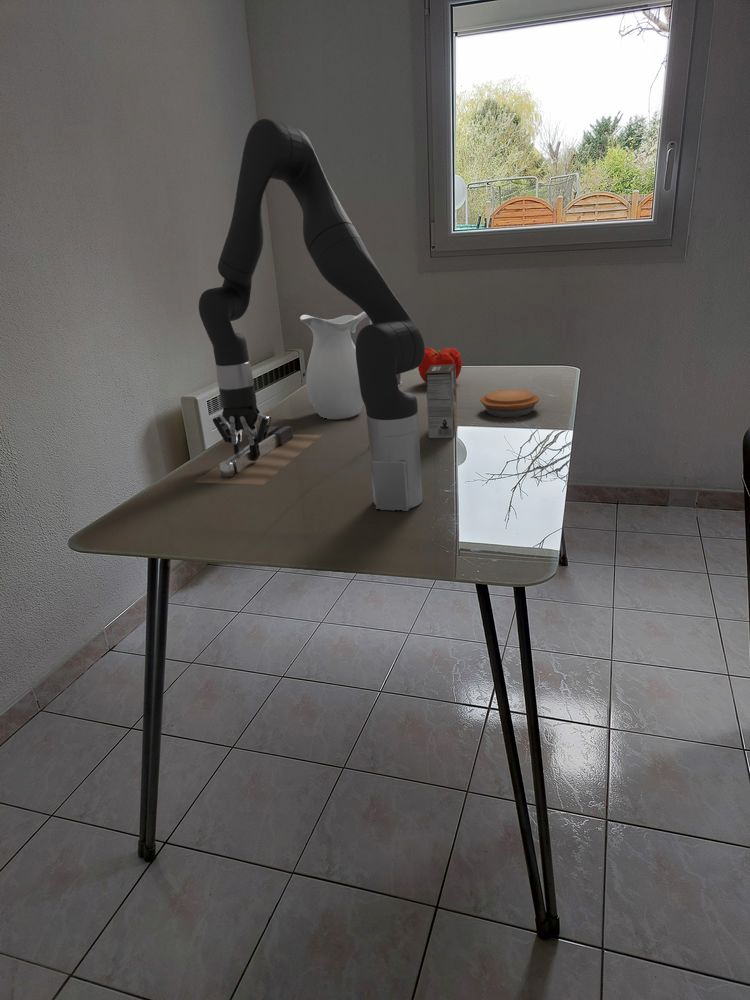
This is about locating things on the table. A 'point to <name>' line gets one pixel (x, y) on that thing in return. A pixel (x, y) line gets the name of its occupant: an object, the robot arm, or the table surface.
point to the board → (263, 463)
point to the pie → (509, 402)
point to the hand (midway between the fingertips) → (248, 459)
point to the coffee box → (441, 401)
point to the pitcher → (333, 367)
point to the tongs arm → (264, 447)
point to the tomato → (440, 360)
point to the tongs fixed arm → (227, 466)
